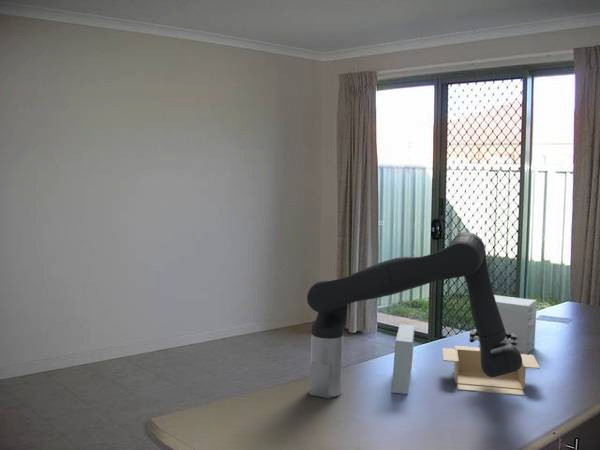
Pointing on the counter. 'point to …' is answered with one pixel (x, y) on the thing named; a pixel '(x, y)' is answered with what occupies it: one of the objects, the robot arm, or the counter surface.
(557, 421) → the counter surface
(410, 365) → the skincare box
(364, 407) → the counter surface
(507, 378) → the carton
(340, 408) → the counter surface
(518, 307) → the supplement box
